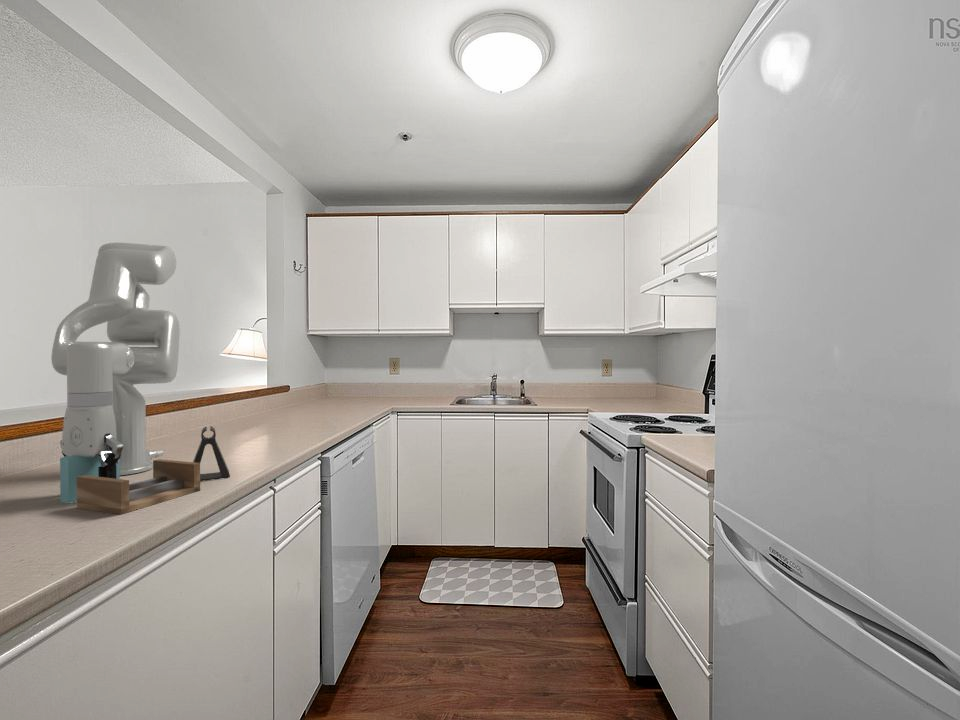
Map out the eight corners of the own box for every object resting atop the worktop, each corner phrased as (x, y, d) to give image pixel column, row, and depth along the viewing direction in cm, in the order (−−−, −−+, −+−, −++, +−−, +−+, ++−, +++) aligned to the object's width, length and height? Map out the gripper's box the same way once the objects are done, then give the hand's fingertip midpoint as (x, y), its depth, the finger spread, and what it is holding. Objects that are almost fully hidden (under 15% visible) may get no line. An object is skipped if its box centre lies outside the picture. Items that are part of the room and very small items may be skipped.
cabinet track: (159, 485, 110) (159, 459, 110) (200, 490, 107) (200, 462, 107) (76, 507, 94) (76, 476, 94) (121, 514, 91) (120, 482, 90)
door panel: (111, 489, 108) (111, 448, 107) (119, 490, 107) (119, 449, 107) (60, 502, 98) (60, 457, 98) (68, 503, 97) (68, 458, 97)
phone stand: (229, 472, 123) (229, 425, 123) (229, 477, 118) (229, 428, 118) (187, 476, 119) (187, 427, 119) (186, 482, 113) (186, 430, 113)
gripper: (42, 401, 101) (42, 483, 102) (100, 403, 96) (101, 490, 96) (81, 398, 109) (82, 475, 109) (138, 400, 103) (138, 481, 103)
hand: (91, 482), depth 102 cm, fingers open, 9 cm apart
